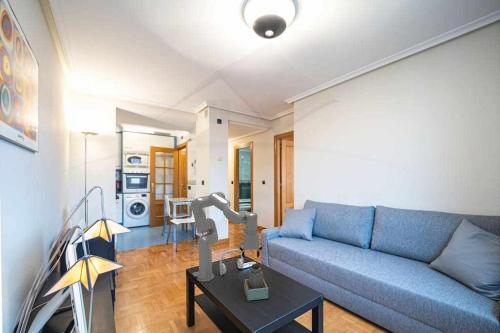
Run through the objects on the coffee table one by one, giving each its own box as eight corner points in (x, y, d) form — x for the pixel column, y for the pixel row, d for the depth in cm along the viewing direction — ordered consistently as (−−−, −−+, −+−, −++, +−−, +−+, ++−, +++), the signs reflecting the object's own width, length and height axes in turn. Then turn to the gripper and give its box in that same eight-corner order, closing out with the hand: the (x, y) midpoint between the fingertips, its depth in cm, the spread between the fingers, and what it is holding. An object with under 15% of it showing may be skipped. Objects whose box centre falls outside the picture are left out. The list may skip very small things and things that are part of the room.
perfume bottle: (263, 293, 138) (262, 265, 139) (254, 297, 135) (254, 268, 135) (256, 289, 144) (256, 261, 144) (248, 292, 140) (248, 264, 141)
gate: (247, 300, 131) (247, 290, 131) (247, 299, 132) (247, 289, 132) (268, 298, 134) (268, 288, 134) (267, 297, 135) (267, 287, 135)
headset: (222, 277, 161) (222, 253, 161) (218, 274, 167) (217, 250, 167) (244, 270, 172) (244, 248, 172) (240, 267, 178) (240, 245, 178)
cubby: (247, 300, 132) (247, 289, 133) (244, 289, 145) (244, 279, 145) (267, 298, 135) (267, 287, 135) (263, 287, 147) (263, 277, 147)
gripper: (239, 233, 139) (238, 260, 139) (265, 233, 142) (264, 259, 142) (237, 230, 146) (237, 255, 146) (263, 229, 149) (262, 254, 149)
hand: (250, 257), depth 144 cm, fingers open, 9 cm apart
